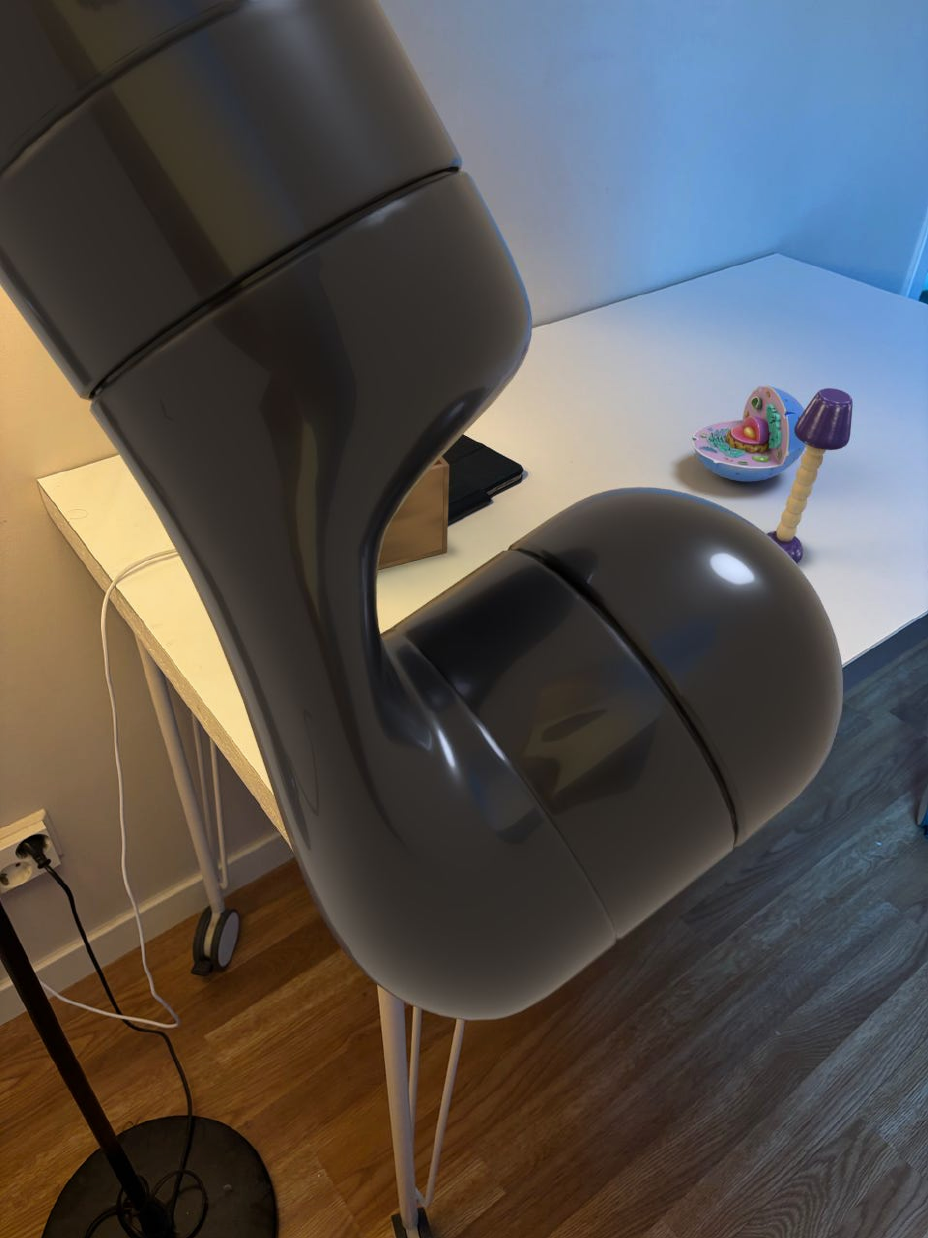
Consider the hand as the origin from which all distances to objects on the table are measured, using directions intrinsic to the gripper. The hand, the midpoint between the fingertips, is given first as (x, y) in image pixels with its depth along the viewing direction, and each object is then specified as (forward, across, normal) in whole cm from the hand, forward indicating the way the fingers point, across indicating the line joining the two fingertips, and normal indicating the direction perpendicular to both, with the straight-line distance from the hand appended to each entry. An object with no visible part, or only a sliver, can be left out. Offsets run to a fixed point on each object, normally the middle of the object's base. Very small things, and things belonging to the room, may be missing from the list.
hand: (406, 711), depth 50 cm
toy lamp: (+34, -40, -10) cm, 54 cm away
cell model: (+44, -42, -20) cm, 64 cm away
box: (+41, -1, -17) cm, 44 cm away
